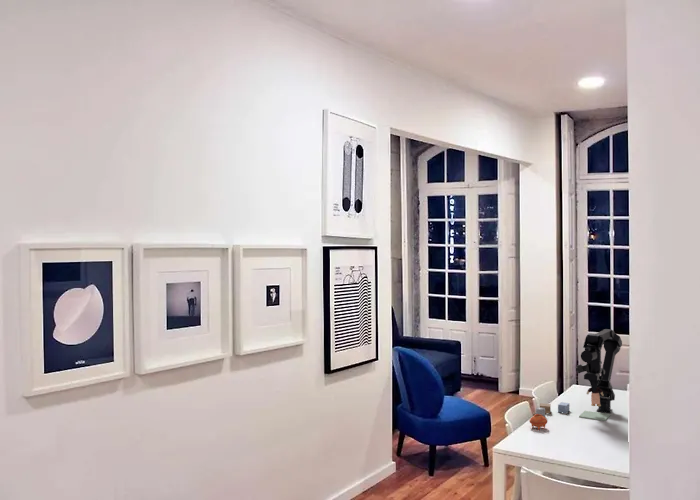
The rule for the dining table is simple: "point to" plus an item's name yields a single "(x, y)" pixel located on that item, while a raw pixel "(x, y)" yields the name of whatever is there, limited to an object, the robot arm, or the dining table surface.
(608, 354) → the robot arm
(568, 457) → the dining table surface
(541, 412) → the grey capsule
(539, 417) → the pot
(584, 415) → the sage mat
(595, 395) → the grandmother figurine
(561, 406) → the slate-blue block
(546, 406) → the walnut block
